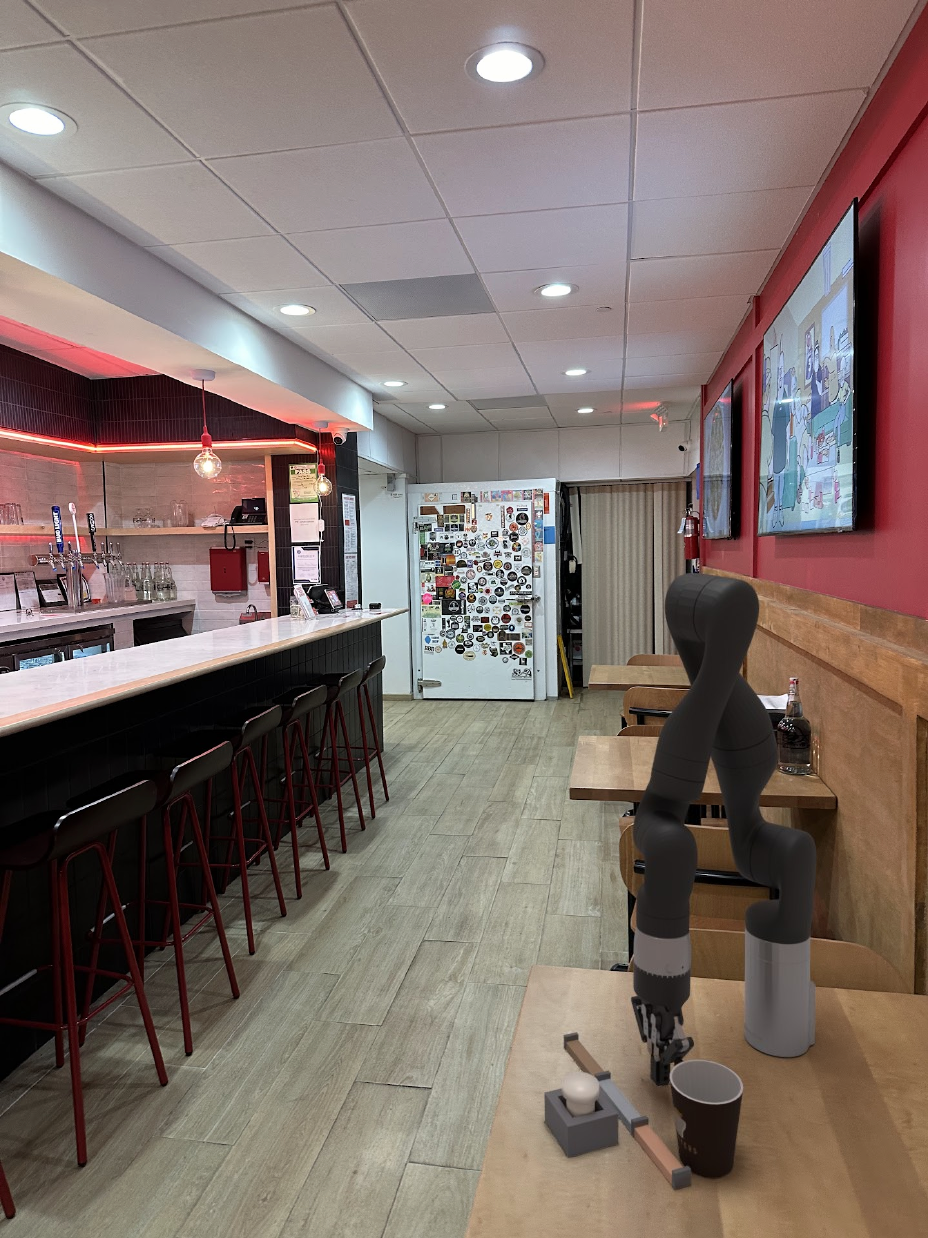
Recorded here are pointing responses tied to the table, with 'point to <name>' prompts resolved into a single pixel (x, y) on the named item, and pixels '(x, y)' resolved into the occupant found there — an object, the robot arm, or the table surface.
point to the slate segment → (616, 1098)
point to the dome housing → (581, 1125)
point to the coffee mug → (706, 1115)
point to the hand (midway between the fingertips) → (659, 1082)
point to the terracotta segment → (660, 1153)
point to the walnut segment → (581, 1054)
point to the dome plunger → (580, 1093)
